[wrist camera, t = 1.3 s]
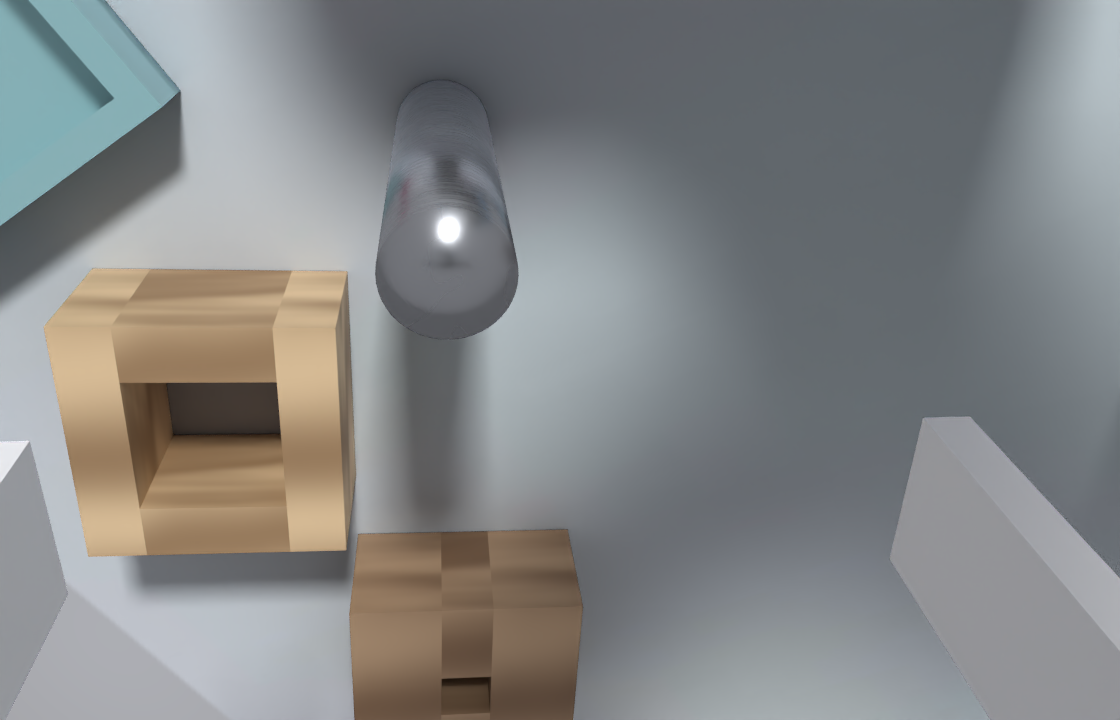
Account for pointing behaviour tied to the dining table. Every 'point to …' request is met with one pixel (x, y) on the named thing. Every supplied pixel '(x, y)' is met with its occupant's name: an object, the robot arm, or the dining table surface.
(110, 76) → the teal tray
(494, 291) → the cylinder
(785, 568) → the dining table surface
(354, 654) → the walnut block narrow bore
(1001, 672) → the robot arm
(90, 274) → the oak block wide bore
